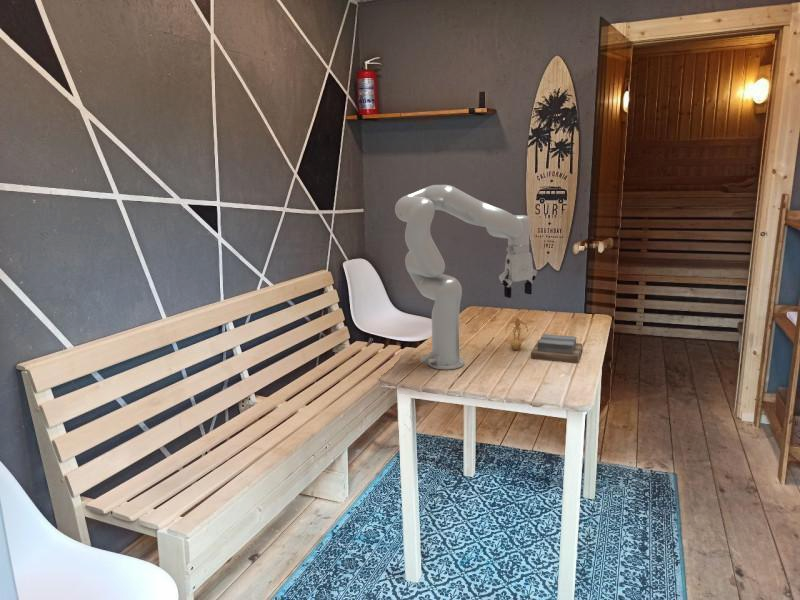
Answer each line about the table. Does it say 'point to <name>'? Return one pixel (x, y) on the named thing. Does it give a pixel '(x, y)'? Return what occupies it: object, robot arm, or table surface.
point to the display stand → (557, 348)
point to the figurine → (516, 343)
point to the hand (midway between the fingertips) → (518, 295)
